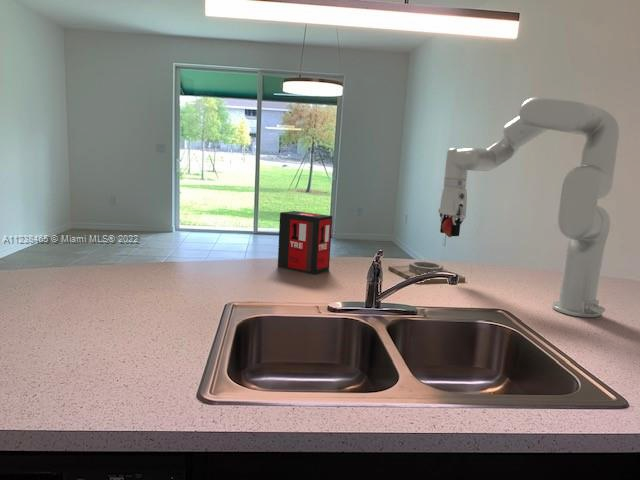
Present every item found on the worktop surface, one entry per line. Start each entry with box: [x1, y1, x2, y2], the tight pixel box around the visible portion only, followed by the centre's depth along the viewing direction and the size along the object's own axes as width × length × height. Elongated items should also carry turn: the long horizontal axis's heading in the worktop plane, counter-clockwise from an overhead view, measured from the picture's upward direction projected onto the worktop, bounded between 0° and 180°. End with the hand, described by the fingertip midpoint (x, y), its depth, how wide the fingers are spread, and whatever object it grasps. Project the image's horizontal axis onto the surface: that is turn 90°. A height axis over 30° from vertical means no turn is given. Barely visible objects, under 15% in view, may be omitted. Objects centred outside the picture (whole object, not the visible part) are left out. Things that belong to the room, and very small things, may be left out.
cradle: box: [387, 260, 466, 284], centre depth 183 cm, size 20×20×4 cm
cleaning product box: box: [277, 210, 333, 276], centre depth 181 cm, size 16×9×20 cm, turn 58°
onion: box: [442, 216, 453, 238], centre depth 179 cm, size 6×6×8 cm
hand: (449, 233), depth 179 cm, fingers closed on onion, 5 cm apart
